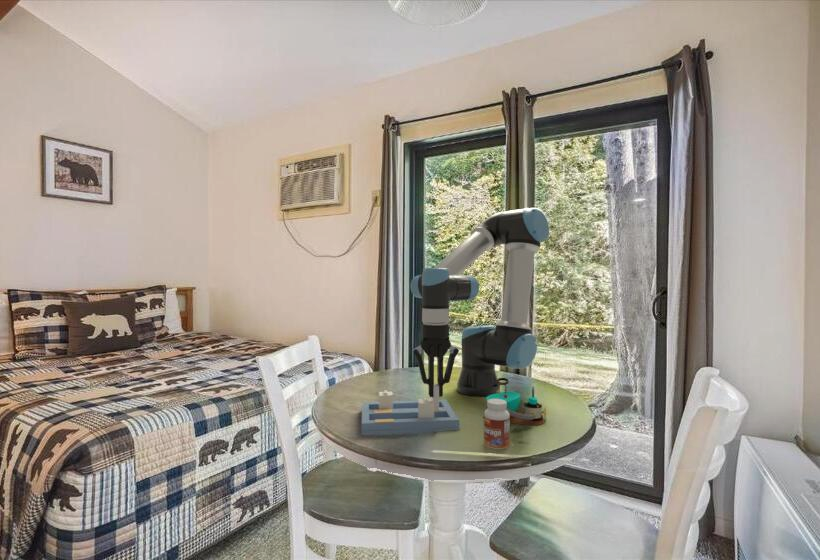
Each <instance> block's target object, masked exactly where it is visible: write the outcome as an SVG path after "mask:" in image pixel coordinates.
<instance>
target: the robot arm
mask: <svg viewBox="0 0 820 560" xmlns="http://www.w3.org/2000/svg"><path fill="white" fill-rule="evenodd" d="M549 234H550V227H549V221H548V219H547V216H546V214H545V213H544V211H542V210H541V209H540V208H537V207H530V208H529V207H525V208H521V209H513V210H507V211H506V210H504V211H498V212H496V213H494V214H492V215H490V216H489V217H487V218H486V219H484V220H483V221H481V222H480V223H479V224H477V225H476V226H475V227H474V228H473V229H472V230H471V231H470V235H469V236H468V237H467V238H466V239H465V240H463V241H462V243H460V244H459V245H458V246H456V247H455V248H454V249H453V250H452V251H451V252H450V253H449V254H447V255H446V256H445V257H444V258H443V259H442V260H440V261H439V262H438V263H437V264H436V265H435V266H433V267H426V268H424V269H423V270H422V274H418V275H416V276H414V277H413V278H412V279H411V281H410V291H411V294H412V295H413V296H414V298H418V299H421V307H422V308H421V309H422V311H421V322H422V323H423V324H422V325H421V341H420V343H419V346H417V347H415V348H412V353H413V354H414V355H415V356H416V361H417V365H418V368H419V369H418V371H419V374H420V378H421V381H422V383H423V384H425V385H428V396H429V397H430V398H431V399H432V400H433V402H434V410H439V400H440V398H442V397H443V395H444V385H445V384H448V383H450V381H451V376H452V372H453V369H454V363H455V359H456V356H457V355H458V354H459V351H460V350H459V348H458V347H455V346H453V345H452V342H451V341H450V325H449V322H450V302H456V301H457V302H460V301H463V302H464V301H465V302H466V301H471V300H474V299H475V298H476V297H477V296H478V294H479V291H480V285H479V281H478V279H477V278H476V277H475V276H473V275H468V274H462V273H463V272H465V270H466V269H468V268H469V267H470V266H471V265H472V264H473V263H475V261H476V260H477V259H478V258H479V257H480V256H482V254H484V253H485V252H488V251H491V250H492V249H493V248H494V247H497V246H500V245H504V247H505V248H506V250H507V251H508V256H507V264H506V266H507V267H506V275H505V282H504V290H503V300H502V309H501V317H500V318H501V319H500V320H499V321H498V322H497V323H496V324H495V325H490V324H489V325H477V326H466V327H464V328H463V329H462V331H461V340H460V341H461V371H460V374H459V377H458V379H457V383H456V391H457V392H458V393H460V394H463V395H467V396H473V397H487V396H489V395H492V394H496V393H497V391H500V392H501V387H500V388H499V389H498V387H499V385H500V384H498V383H497V379H499V378H498V375H497V372H496V366H501V367H506V368H509V369H518V370H523V369H526V368H527V367H529V366H530V365H531V364H532V363H533V361H534V359H535V358H536V354H537V350H538V342H537V338H536V337H535V335H533V334H532V328H531V327H530V325H529V324H528V320H529V319H528V318H529V310H530V301H531V291H532V290H531V289H532V283H533V282H532V281H533V273H534V263H535V254H536V253H537V252H538V251H539V250H541V243H543V242H545V241H546V240H547V239H548V237H549ZM422 351H423V352H424V353H425V355H427V360H428V361H427V363H428V364H427V365H428V366H427V368H428V369H427V374H428V375H427V374H426V369H425V365H424V362H423V357H422V354H423V352H422ZM448 352H449V355H448V358H447V362H446V363H447V364H446V367H445V371H444V356H445V355H446V353H448ZM435 358H436V360H437V361H436V363H437V365H436V366H437V369H436V370H437V374H436V376H437V379H436V381H437V383H435ZM500 386H501V385H500Z"/></svg>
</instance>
